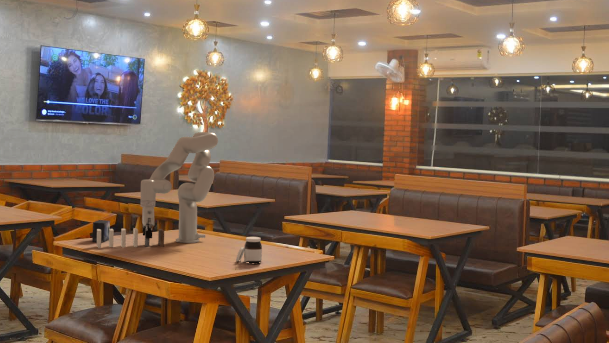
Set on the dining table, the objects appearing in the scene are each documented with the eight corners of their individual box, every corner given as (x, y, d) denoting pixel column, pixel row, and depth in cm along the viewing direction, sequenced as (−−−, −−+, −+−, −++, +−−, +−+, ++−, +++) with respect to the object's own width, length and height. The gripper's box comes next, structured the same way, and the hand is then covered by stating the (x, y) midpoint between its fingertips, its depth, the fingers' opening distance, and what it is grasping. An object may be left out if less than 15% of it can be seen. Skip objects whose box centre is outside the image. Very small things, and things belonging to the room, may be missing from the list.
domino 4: (136, 245, 368) (136, 228, 368) (137, 247, 364) (137, 229, 363) (133, 245, 368) (133, 228, 367) (134, 247, 363) (134, 229, 363)
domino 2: (112, 246, 364) (112, 228, 364) (113, 247, 359) (113, 230, 359) (108, 246, 364) (109, 228, 363) (110, 247, 359) (110, 230, 358)
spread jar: (263, 264, 327) (263, 239, 327) (238, 265, 324) (239, 239, 323) (257, 259, 339) (258, 235, 338) (233, 260, 336) (234, 235, 335)
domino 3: (124, 245, 366) (124, 228, 366) (125, 247, 361) (125, 230, 361) (121, 245, 366) (121, 228, 365) (122, 247, 361) (122, 230, 360)
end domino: (147, 244, 371) (148, 228, 370) (149, 246, 366) (149, 229, 365) (144, 245, 370) (145, 228, 370) (146, 246, 365) (146, 229, 365)
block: (161, 244, 375) (161, 228, 374) (164, 246, 367) (164, 231, 367) (158, 244, 374) (158, 228, 373) (160, 246, 366) (161, 231, 366)
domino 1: (99, 246, 362) (100, 229, 361) (100, 248, 357) (101, 230, 357) (96, 246, 361) (96, 229, 361) (97, 248, 357) (97, 230, 356)
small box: (104, 242, 374) (104, 222, 373) (91, 242, 374) (92, 222, 373) (110, 239, 384) (110, 220, 384) (98, 239, 384) (98, 219, 384)
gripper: (158, 205, 360) (157, 239, 361) (152, 201, 376) (152, 234, 377) (143, 205, 357) (142, 239, 358) (138, 201, 373) (137, 234, 374)
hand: (147, 236), depth 368 cm, fingers open, 9 cm apart
